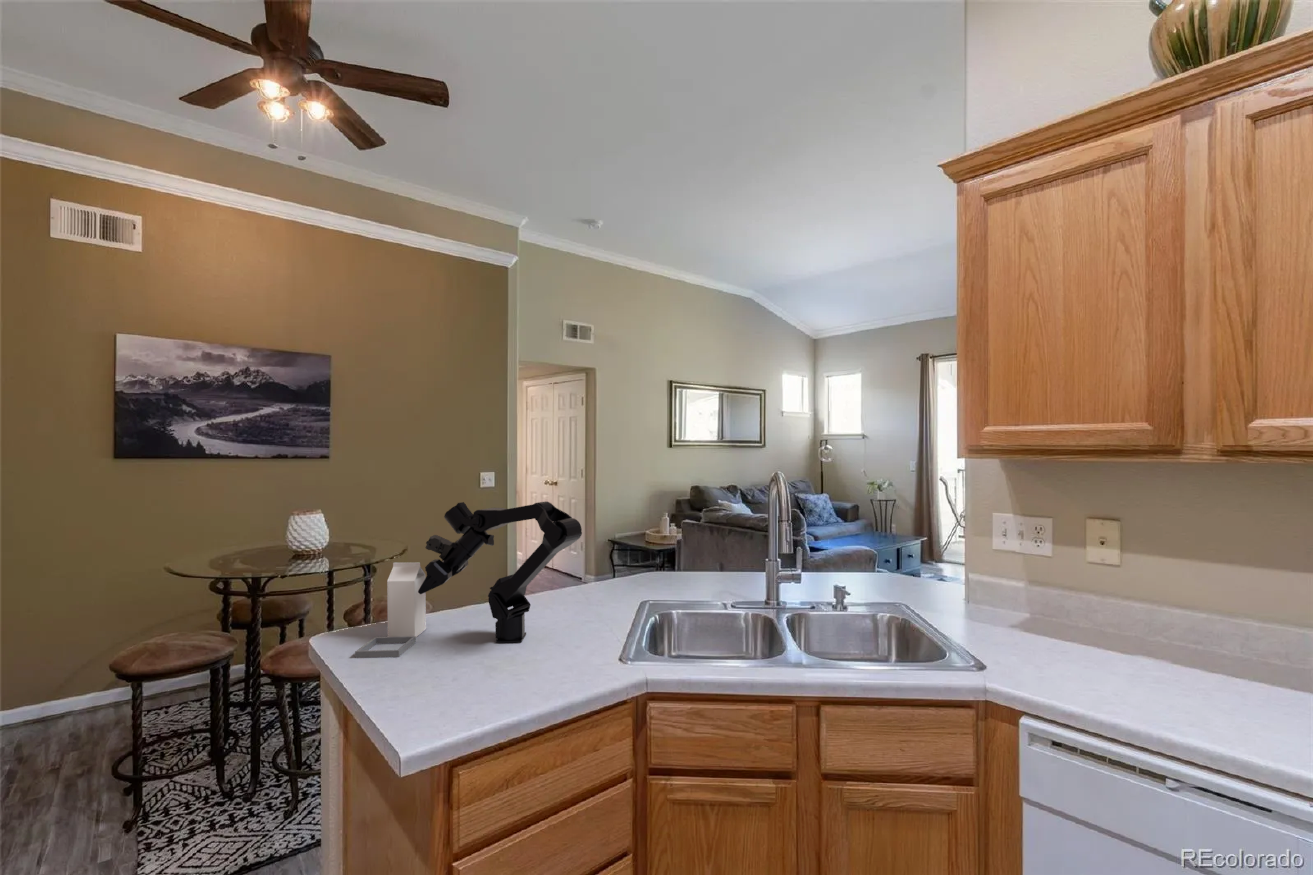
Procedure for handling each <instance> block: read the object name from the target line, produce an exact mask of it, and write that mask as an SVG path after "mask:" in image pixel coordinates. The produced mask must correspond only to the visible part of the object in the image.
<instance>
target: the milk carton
mask: <svg viewBox="0 0 1313 875" xmlns="http://www.w3.org/2000/svg"><path fill="white" fill-rule="evenodd" d="M425 578H426V573H425V571H424V570H423V568H422V567H421V562H418V561H417V562H415V561H414V562H413V561H412V562H410V561H409V562H392V569H391V571H390V573H389V576H388V578H387V580H386V581H387V583H386V584H387V585H386V588H387V590H386V591H387V592H386V595H387V597H386V598H387V637H406V636H416V638H417V637H419V635H421V634H422V633H423V632H425V630H426V629H427V623H426V622H427V620H426V619H427V618H426V617H427V611H426V610H427V608H426V607H427V605H426V604H427V603H426V598H427V597H426V596H427V595H426V593H427V592H425V593H423V594H420V593H418V590H419V589H420V587H421V585H422V583H423V582H424V580H425Z"/></svg>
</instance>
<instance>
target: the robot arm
mask: <svg viewBox="0 0 1313 875" xmlns="http://www.w3.org/2000/svg"><path fill="white" fill-rule="evenodd" d="M443 518H444V519H445V521H446V522H447V523H448V524H449V526H450V527H451V528H452V530H454V532H455V533H456V534H458V535H459V534H462V535H461V536H460V537H459V538H458V539H456V540H455V541H451V540H449V539H447V538H444V537H442V536H440V535H437V534H433V535H431V536H429V539H428V540H427V541H426V542H425V544H426V545H425V546H424V547H425V549H426V550H428V551H432V552H435V553H436V554H438V556H439V558H440V559H439V558H437V559H435V558H434V559H433V560H431V561H430V562H429V563H428V564H426V566H424V568H425V571H424V572H426V575H425V580H424V582H423V583H422V585H421V587H420V589H419V590H418V593H420V594H423V593H425V592H426V593H427V592H429V591H432V590H433V589H435V588H437V587H440V586H443V585H444V584H446V582H448V581H449V580H450V579H451V578H452V577H454V576H456V575H458V574H460V573H461V572H462V571H463V570H465V569H466V568H467V566H469V560H470V559H472V558H474V556H475V554H476V553H477V552H478V551H479V550H480V549H481V548H482V547H483V545H487V546H494V545H495V538H494V537H495V536H494V535H493V534H489V533H488V531H492V530H497V529H500V528H503V527H505V526H507V525H508V524H510V523H517V522H523V521H528V520H535V521H536V522H537V524H538V526H539V530H541V531H542V532H543V536H542V541H541V543H540V544H539V546H537V548H536V549H535V550H534V551H533V552H532V553H531V554H530V556H528V558H527V559H526V560H525V561H524V562H523V563H522V565H521V566H520V567H519V568H518V569H517V570H516V571H515V572H514V573H513V574H510V575H505V576H504V577H500V578H498V579H497V580H496V581H495V584H493V586H491V587H489V592H488V595H487V597H488V604H489V608H490V612H491V616H492V618H493V619H496V622H495V624H494V625H495V627H494V628H495V639H496V640H495V643H496V644H506V643H507V644H509V643H512V644H513V643H517V644H518V643H522V642H523V641H524V640H525V637H526V636H527V632H525V627H526V626H525V625H526V624H525V620H526V619H525V613H528V612H530V609H531V608H530V607H531V603H530V601H529V600H528V598H527V597H526V596H525V595H526V592H527V587H528V585H529V584H530V583H531V582H532V581H533V580H534V579H535V578H536V577H537V576H538V575H539V573H540V572H541V571H542V570H543V569H544V568H545V567H546V566H547V565H548V563H550V562H551V561H552V559H553V558H555V556H557V554H558V553H560V552H561V551H562V550H565V549H566V548H568V547H569V546H571V545H572V544H574V543H575V542H577V541H579V539H580V538H581V537H582V534H583V530H582V526H581V524H580V522H579V521H578V520H577V519H576V518H573V517H572V516H571V515H570V514H568V513H566V512H565V511H563V510H561V509H559V508H557V507H556V505H554V504H552V502H549V501H545V500H544V501H538V502H535V503H533V504H528V505H522V506H521V505H520V506H517V507H512V508H511V507H510V508H504V507H490V508H482V509H476V510H475V511H474V512H472V511H471V510H470V508H468V506H467V505H466V503H465V502H464V501H463V502H457V503H456V505H455V506H453V507H451V508H449V509H448V510H447V511H446V512H445V513H444V516H443ZM511 607H512V608H511ZM508 608H509V609H508Z"/></svg>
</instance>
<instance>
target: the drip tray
mask: <svg viewBox="0 0 1313 875" xmlns="http://www.w3.org/2000/svg"><path fill="white" fill-rule="evenodd" d="M415 642H416V643H417V637H416V636H406V637H388V636H374V637H373V638H372V639H371V640H369V641H368V642H366V643H365V644H364V645H362V646H361V647H359V648H358V649H356V650H355V651H354V655H355V656H354V658H355V659H362V658H363V659H367V658H368V659H369V658H400V657H401V656H402V655H403V654H404V653H405V652H406V651H408V649H410V648H411V647H412V646H413V645H414V644H416V643H415ZM381 644H382V645H383V644H384V645H385V644H387V645H388V644H389V645H390V644H402V645H401V646H400V647H399V648H397V649H377V650H376V649H373V650H372V649H371V648H374V646H375V645H381ZM400 655H401V656H400Z"/></svg>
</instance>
